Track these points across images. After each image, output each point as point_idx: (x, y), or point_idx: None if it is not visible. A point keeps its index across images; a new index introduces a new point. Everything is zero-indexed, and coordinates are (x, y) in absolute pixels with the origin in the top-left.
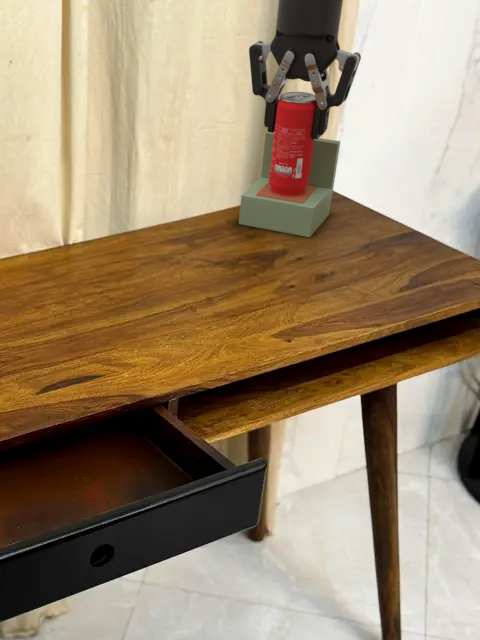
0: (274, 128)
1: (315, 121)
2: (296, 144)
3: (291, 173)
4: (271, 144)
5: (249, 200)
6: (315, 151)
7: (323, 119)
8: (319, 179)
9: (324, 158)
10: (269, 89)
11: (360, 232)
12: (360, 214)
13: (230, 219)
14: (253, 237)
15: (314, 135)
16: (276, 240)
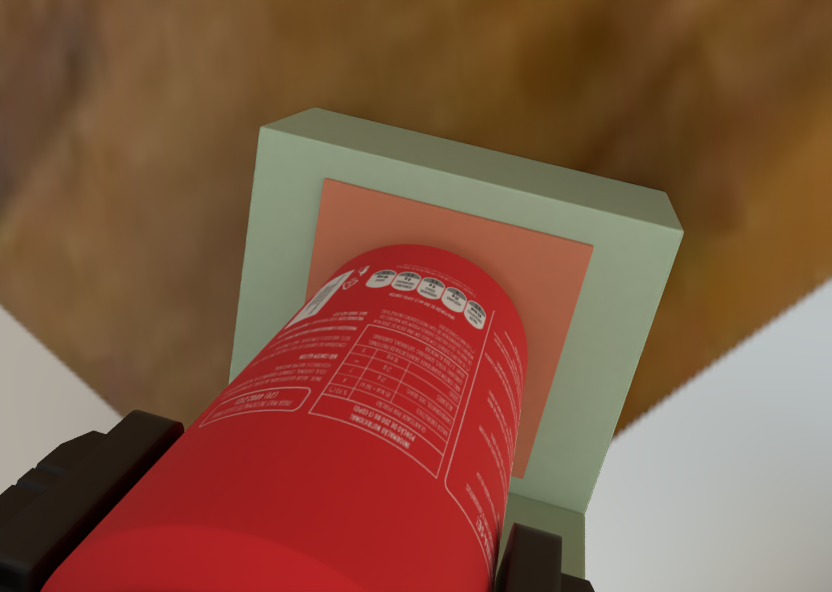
0: (501, 567)
1: (85, 490)
2: (300, 355)
3: (372, 275)
4: None
5: (629, 211)
6: None
7: (8, 507)
8: None
9: None
10: None
11: (126, 221)
12: (161, 404)
13: (711, 247)
14: (578, 39)
15: (146, 420)
16: (460, 31)
